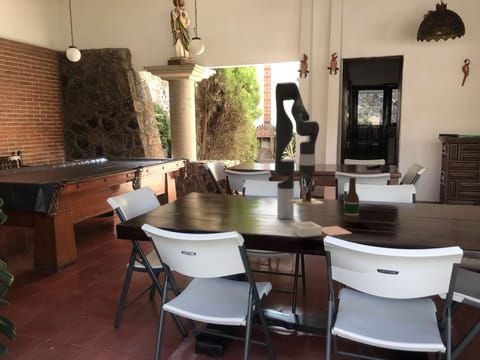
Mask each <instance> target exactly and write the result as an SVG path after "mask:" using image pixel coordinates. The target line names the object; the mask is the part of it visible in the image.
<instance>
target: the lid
mask: <svg viewBox="0 0 480 360" xmlns="http://www.w3.org/2000/svg"><path fill="white" fill-rule="evenodd" d="M290 202H293V203H294V205H297V206H300V207H303V206H304V207H307V206H309V207H310V206H317V205H318V206H321V205H325V202H323V201H321V200H319V199H315V198H313V197H311V200H310V201H307V200H306V188H302V189H301V198H296V199H293V200H290Z"/></svg>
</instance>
